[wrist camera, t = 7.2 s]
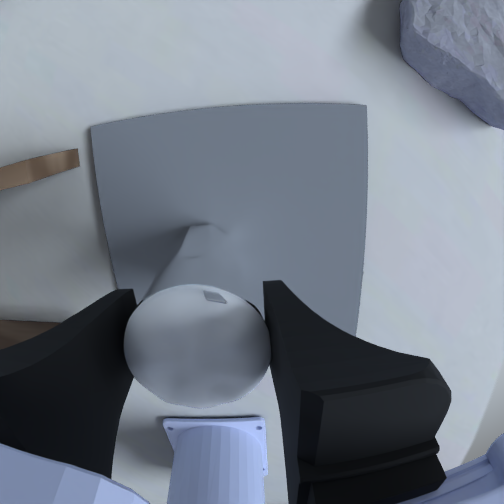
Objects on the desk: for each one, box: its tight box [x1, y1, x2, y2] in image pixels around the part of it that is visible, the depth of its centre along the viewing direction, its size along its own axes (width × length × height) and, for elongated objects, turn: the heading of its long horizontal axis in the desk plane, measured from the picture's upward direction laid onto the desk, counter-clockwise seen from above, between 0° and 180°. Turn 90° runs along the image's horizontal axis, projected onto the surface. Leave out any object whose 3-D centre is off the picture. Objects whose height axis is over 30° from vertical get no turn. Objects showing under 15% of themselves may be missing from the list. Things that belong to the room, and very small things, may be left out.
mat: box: [91, 103, 368, 337], centre depth 17 cm, size 14×14×1 cm
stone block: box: [399, 0, 504, 130], centre depth 11 cm, size 12×5×10 cm
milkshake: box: [124, 224, 271, 409], centre depth 12 cm, size 5×5×10 cm
